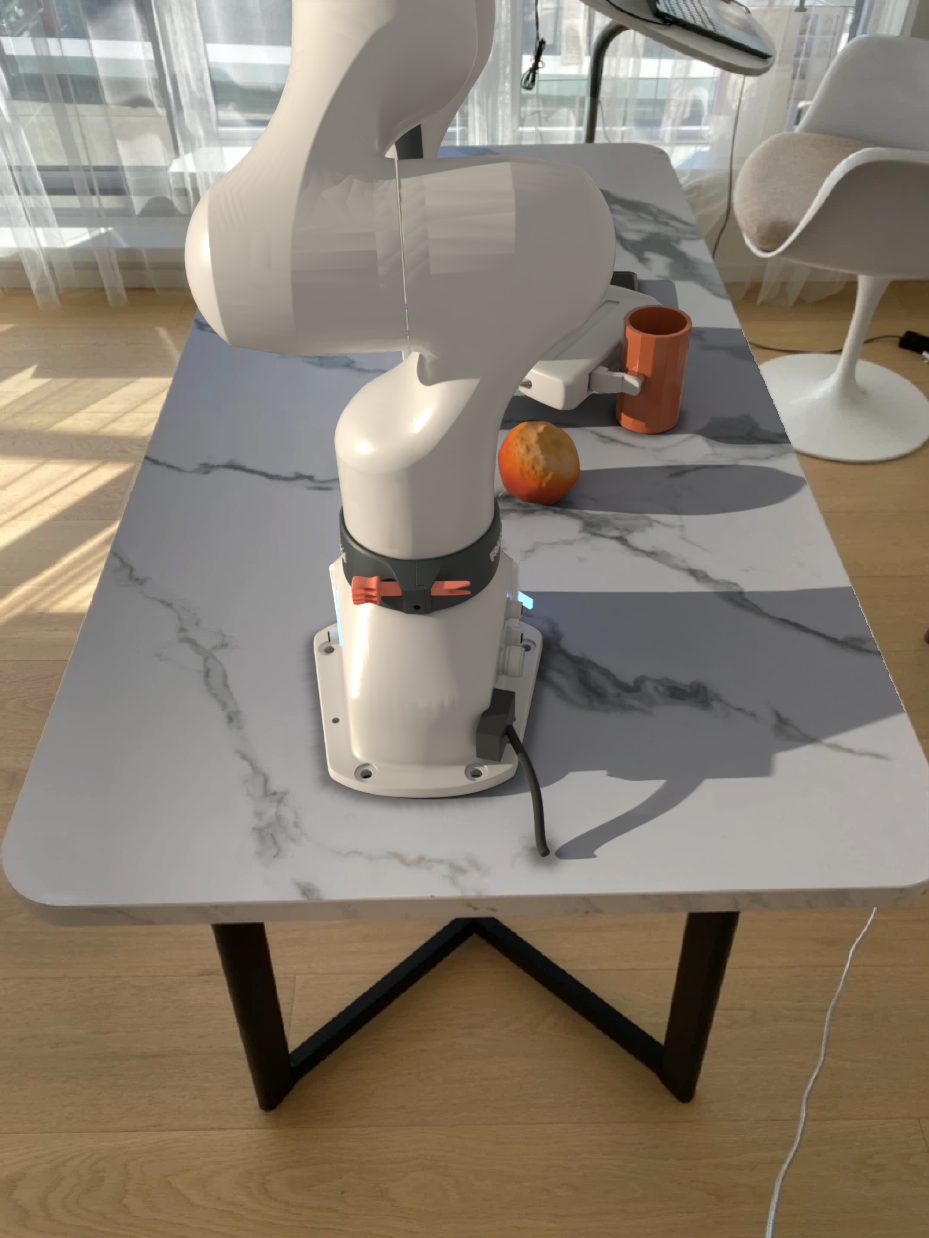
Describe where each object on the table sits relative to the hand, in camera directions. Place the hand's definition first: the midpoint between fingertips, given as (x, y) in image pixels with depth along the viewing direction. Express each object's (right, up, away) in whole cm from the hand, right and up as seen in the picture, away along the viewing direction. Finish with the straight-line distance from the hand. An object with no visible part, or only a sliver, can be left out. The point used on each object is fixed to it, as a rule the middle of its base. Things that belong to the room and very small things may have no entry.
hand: (660, 368), depth 106 cm
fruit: (-13, -13, -4) cm, 19 cm away
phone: (-2, +13, +22) cm, 26 cm away
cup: (-1, -4, +4) cm, 6 cm away
